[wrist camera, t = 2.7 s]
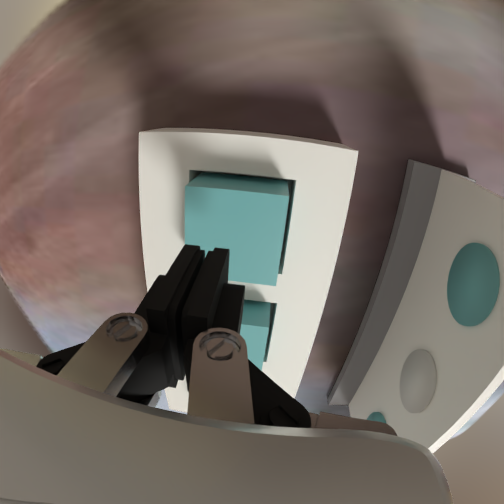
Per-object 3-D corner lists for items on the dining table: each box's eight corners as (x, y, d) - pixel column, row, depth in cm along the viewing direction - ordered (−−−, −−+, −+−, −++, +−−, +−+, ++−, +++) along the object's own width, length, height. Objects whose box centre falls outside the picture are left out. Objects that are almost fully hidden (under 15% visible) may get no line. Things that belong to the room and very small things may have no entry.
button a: (287, 180, 16) (289, 196, 13) (276, 256, 19) (275, 286, 16) (202, 172, 17) (185, 186, 14) (200, 247, 19) (185, 274, 16)
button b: (270, 295, 20) (269, 327, 17) (263, 345, 22) (260, 377, 19) (200, 286, 20) (187, 316, 17) (201, 336, 22) (191, 367, 19)
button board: (342, 144, 17) (358, 151, 14) (284, 396, 29) (284, 425, 26) (164, 127, 18) (139, 132, 14) (178, 381, 30) (169, 408, 26)
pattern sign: (469, 177, 17) (590, 252, 5) (374, 397, 29) (392, 493, 17) (408, 158, 17) (543, 231, 6) (327, 398, 29) (335, 501, 17)
